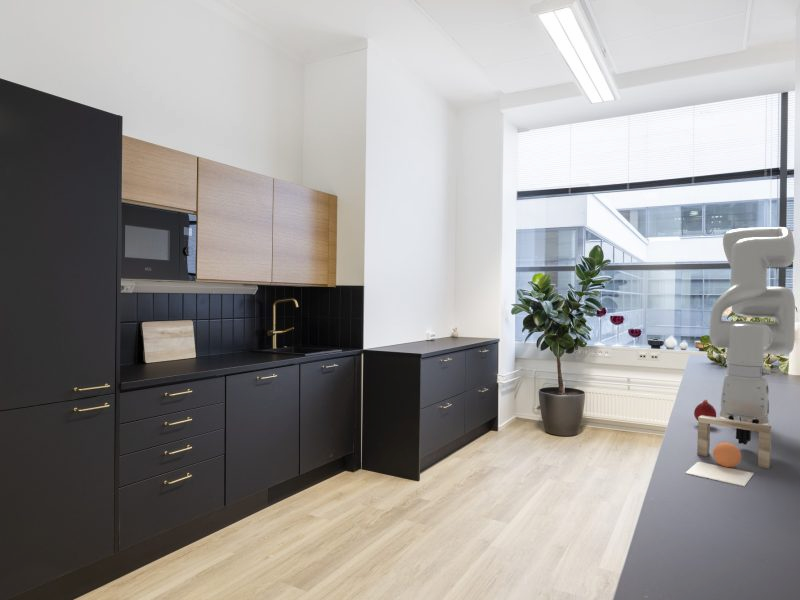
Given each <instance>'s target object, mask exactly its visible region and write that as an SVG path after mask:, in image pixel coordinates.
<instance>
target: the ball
mask: <svg viewBox="0 0 800 600" xmlns="http://www.w3.org/2000/svg"><path fill="white" fill-rule="evenodd" d="M712 451H713V452H712V456H713V458H714V460H715V462H716V463H718V464H719V466H722V467H727V468H734V467H736V466H738V465H739V464H740V463H741V460H742V452H741V450H740V448H739V447H737V446H736V445H735V444H733V443H730V442H725V441H724V442H720V443H717V444H716V445H715V446H714V447H713V450H712Z"/></svg>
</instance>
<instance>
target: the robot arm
mask: <svg viewBox="0 0 800 600" xmlns="http://www.w3.org/2000/svg"><path fill="white" fill-rule="evenodd" d="M794 240H795V239H794V235H793V231H792V230H791V229H790V228H788V227H785V226H778V227H777V226H775V227H773V226H772V227H771V226H770V227H747V228H746V227H745V228H736V229H730V230H729V231H727V232H725V233H724V235H723V238H722V245H723V250H724V254H725V257H726V259H727V262H728V264H729V266H730V284H729V285H730V286H729V288H728V289H727V290H726V291H724V292H723V293H722V294H721V295H720V296H719V297H718V298H717V299H716V300H715V303H713V305H712V308H711V311H710V318H709V319H710V320H709V333H708V334H709V342H710V343H711V344H712V346H713V347H715V348H718V349H726V359H727V360H726V363H727V364H726V374H725V375H724V379H723V383H722V388H721V397H720V412H719V418H723V419H729V420H736V421H742V422H749V423H756V424H762V425H769V423H770V417H769V413H770V392H769V384H768V383H769V382H768V379H767V378H765V376H770V375H771V369H768V368H766V367H765V366H764V359H765V358H764V357H765V355H777V356H778V355H779V356H781V355H782V356H785V355H789V354H791V353H792V352H793V350H794V346H795V340H796V339H795V337H796V336H795V335H796V334H795V333H796V332H795V331H796V330H795V329H796V328H795V327H796V324H795V322H796V301H795V300H796V299H795V295H794V293H793V291H792V290H791V288H789V287H785V286H768V285H767V284H768V283H767V282H768V280H767V278H768V277H767V275H768V274H767V273H768V268H787V267H789V266H791V265H792V263H793V262H794V259H795V251H796V247H795V241H794ZM730 307H731V310H732V313H733V314H734V315H736V316H738V317H745V318H764V319H773V320H775V321H776V322H770V321H769V322H768V321H767V322H765V321H749V320H748V321H744V320H743V321H740V320H739V321H738V320H737V321H736V320H735V321H734V320H722V319H723V314H724V313H725V311H726V310H727V309H729V308H730ZM751 435H752V431H751V430H745V429H739V428H735V440H738V442H737V443H738V444H740V445H741V444H743V445H747V444H748V442H751V439H752V436H751Z"/></svg>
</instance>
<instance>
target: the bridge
mask: <svg viewBox="0 0 800 600" xmlns="http://www.w3.org/2000/svg"><path fill="white" fill-rule="evenodd" d="M711 425H716V426H719V427H720V426H722V427H725V428H726V427H727V428H732V429H736V428H739V429H745V430H751V432H752V431H753V432H756V433H757V432H758V446H757V447H758V450H757V452H758V453H757V467H758V468H759V467H760V468H764V469H769V468H770V467H771V459H772V458H771V457H772V455H771V454H772V453H771V452H772V430H773V429H772V427H773V426H772V425H769V424H768V425H762V424H756V423H749V422H742V421H736V420H729V419H723V418H720V417H717V416H716V417H710V416H703V415H701V416H699V417H698V421H697V443H696V444H697V447H696V448H697V449H696V454H697V455H699V456H703V457H707V456H708V455H710V442H711V440H710V439H711V438H710V437H711Z"/></svg>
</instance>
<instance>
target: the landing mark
mask: <svg viewBox="0 0 800 600" xmlns="http://www.w3.org/2000/svg"><path fill="white" fill-rule="evenodd" d="M684 474H685V475H690V476H695V477H699V478H702V479H703V478H704V479H707V478H708V480H713V481H716V480H717V482H721V483H726V484H731V485H734V486H735V485H736V486H739V487H744V488H745V487H746V485H747V484H748V483H749V481H750V480H751V479H752V477H753V476H754V474H755V472H750V471H746V470H741V469H738V468H737V469H735V468H733V467H724V466H722V465H716V464H711V463H707V462H704V461H703V462H702V461H697V462H696V463H694V465H692V466H691V467H690V468H689V469H688V470H687V471H686V472H684Z"/></svg>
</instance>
